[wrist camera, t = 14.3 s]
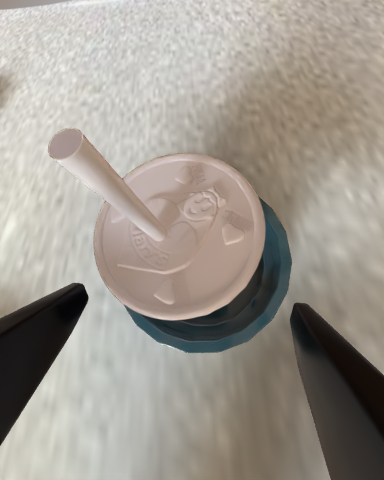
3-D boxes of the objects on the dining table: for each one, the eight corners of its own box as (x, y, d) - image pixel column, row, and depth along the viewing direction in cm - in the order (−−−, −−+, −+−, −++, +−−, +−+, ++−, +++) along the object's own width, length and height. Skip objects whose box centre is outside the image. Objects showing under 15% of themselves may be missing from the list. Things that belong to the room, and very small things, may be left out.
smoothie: (151, 257, 17) (-110, 119, 4) (211, 215, 17) (165, -61, 4) (192, 323, 15) (-60, 542, 2) (259, 275, 15) (509, 125, 2)
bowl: (297, 242, 16) (324, 223, 12) (228, 369, 14) (229, 401, 10) (185, 187, 19) (174, 155, 15) (118, 285, 17) (83, 282, 13)
